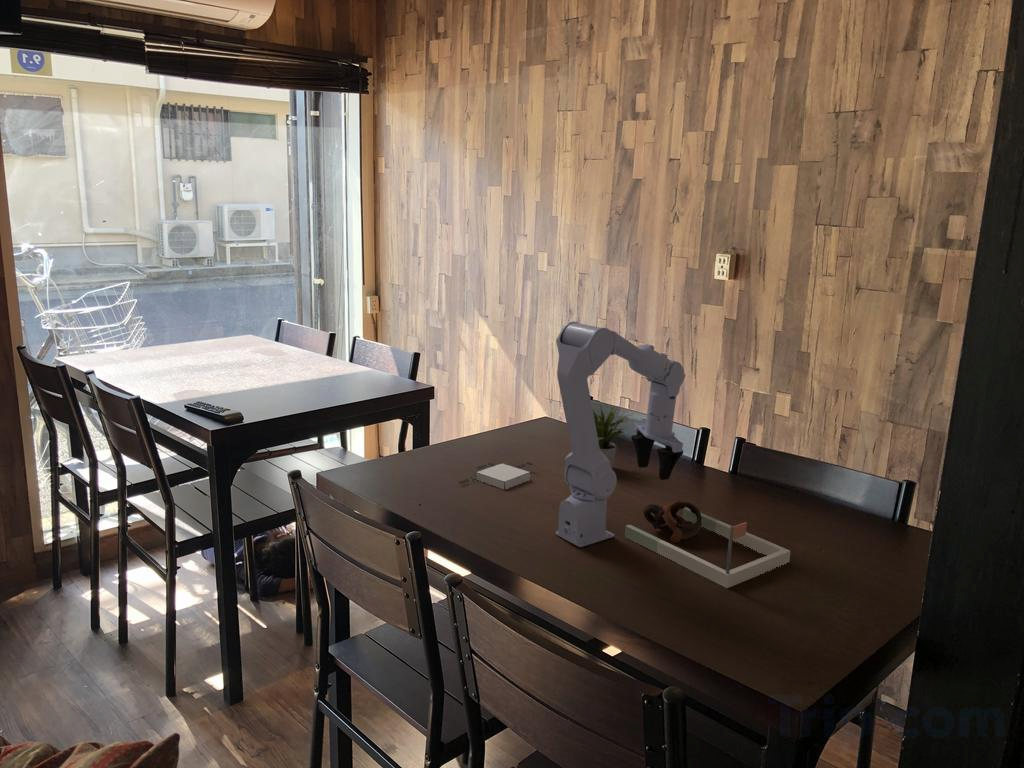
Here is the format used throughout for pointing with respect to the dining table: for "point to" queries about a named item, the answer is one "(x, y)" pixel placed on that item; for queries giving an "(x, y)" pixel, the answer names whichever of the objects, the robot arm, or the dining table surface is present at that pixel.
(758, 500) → the dining table surface
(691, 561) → the open rectangular rail frame
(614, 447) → the house plant
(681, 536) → the brown piece
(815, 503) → the dining table surface
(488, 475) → the container
